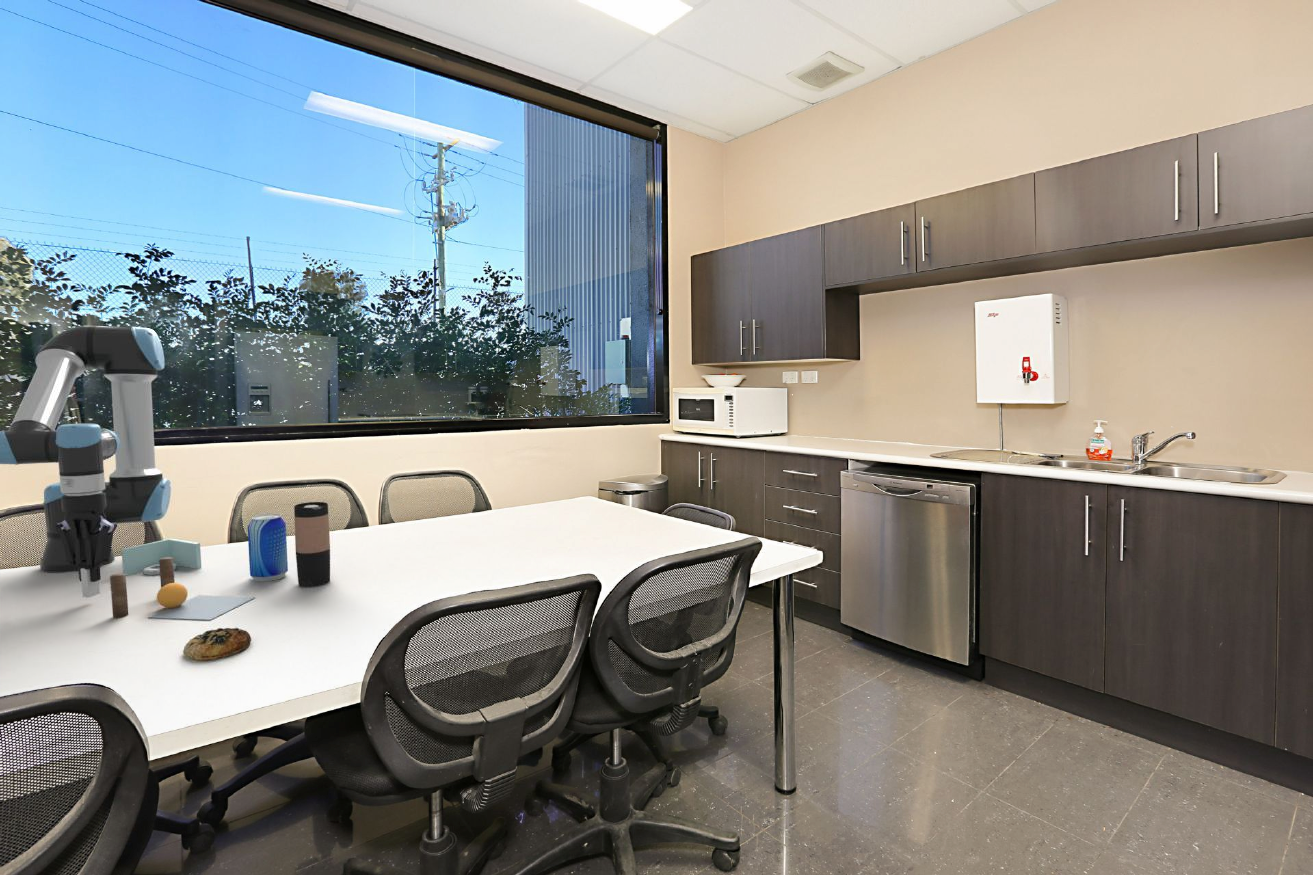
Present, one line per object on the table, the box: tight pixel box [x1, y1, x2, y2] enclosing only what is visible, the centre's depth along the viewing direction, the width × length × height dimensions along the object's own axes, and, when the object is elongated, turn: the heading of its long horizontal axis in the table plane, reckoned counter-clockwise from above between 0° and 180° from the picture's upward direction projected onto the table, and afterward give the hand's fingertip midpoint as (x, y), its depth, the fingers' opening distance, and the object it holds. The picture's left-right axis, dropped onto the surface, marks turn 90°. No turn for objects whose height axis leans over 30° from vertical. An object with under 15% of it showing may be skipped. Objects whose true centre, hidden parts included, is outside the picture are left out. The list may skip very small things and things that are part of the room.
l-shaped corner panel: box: [120, 538, 202, 576], centre depth 171 cm, size 12×12×8 cm
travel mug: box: [293, 501, 331, 588], centre depth 163 cm, size 8×8×20 cm
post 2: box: [159, 557, 176, 589], centre depth 153 cm, size 3×3×9 cm
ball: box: [156, 582, 188, 609], centre depth 145 cm, size 6×6×6 cm
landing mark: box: [147, 594, 256, 622], centre depth 146 cm, size 14×14×1 cm
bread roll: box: [182, 627, 252, 662], centre depth 124 cm, size 11×11×5 cm
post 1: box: [109, 572, 129, 619], centre depth 140 cm, size 3×3×9 cm
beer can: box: [247, 513, 289, 582], centre depth 167 cm, size 8×8×16 cm
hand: (91, 595), depth 148 cm, fingers closed
